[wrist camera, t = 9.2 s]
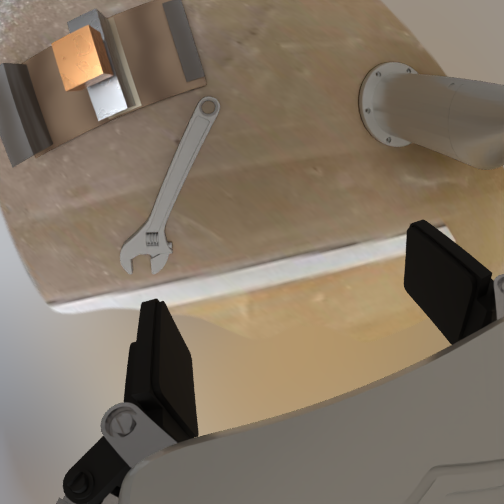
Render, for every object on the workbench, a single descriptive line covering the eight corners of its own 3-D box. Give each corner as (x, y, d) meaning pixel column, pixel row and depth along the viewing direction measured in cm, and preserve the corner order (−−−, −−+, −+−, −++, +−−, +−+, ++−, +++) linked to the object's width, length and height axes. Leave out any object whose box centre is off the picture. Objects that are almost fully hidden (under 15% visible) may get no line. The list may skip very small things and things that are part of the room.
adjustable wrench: (202, 92, 34) (203, 92, 33) (247, 117, 37) (251, 118, 36) (116, 260, 42) (114, 266, 41) (157, 277, 45) (156, 284, 43)
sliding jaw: (109, 19, 25) (79, -9, 15) (136, 104, 31) (116, 112, 21) (83, 31, 25) (43, 10, 15) (110, 116, 31) (79, 129, 20)
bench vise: (178, -3, 27) (178, -24, 21) (205, 85, 34) (211, 83, 27) (13, 73, 26) (-19, 74, 19) (41, 155, 32) (14, 171, 26)
